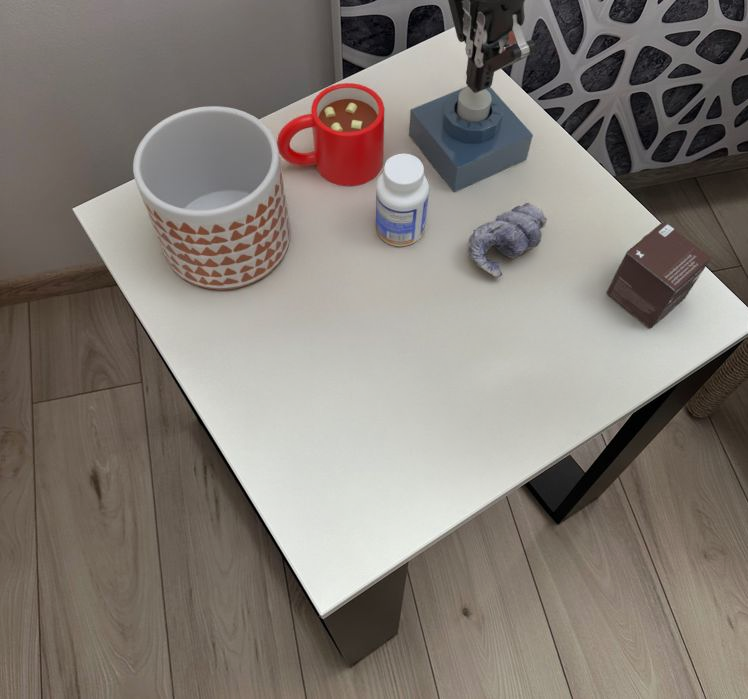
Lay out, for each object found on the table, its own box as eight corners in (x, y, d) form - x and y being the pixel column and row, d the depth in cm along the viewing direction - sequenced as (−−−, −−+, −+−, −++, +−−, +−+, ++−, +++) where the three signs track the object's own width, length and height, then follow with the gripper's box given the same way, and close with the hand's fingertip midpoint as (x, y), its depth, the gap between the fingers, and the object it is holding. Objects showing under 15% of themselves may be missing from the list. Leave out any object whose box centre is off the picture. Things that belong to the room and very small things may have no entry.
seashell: (477, 285, 82) (534, 232, 86) (508, 280, 78) (567, 225, 81) (451, 243, 81) (510, 192, 85) (481, 236, 76) (542, 182, 80)
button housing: (479, 105, 93) (486, 65, 88) (526, 159, 89) (536, 121, 84) (408, 134, 91) (411, 95, 86) (453, 192, 87) (459, 155, 82)
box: (649, 331, 78) (674, 291, 72) (603, 293, 80) (624, 252, 74) (686, 298, 80) (714, 257, 74) (641, 262, 82) (664, 219, 76)
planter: (295, 191, 87) (284, 106, 75) (284, 294, 80) (271, 217, 69) (174, 188, 87) (145, 102, 76) (154, 290, 80) (119, 212, 69)
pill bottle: (399, 200, 86) (403, 138, 78) (435, 228, 84) (442, 167, 76) (365, 227, 84) (364, 166, 76) (400, 256, 82) (404, 197, 74)
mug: (273, 149, 90) (266, 97, 83) (372, 128, 91) (373, 76, 84) (288, 199, 86) (282, 150, 79) (391, 177, 88) (393, 127, 81)
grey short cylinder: (477, 95, 86) (479, 81, 85) (495, 116, 85) (498, 101, 83) (450, 106, 86) (452, 92, 84) (468, 127, 84) (470, 113, 82)
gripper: (425, -96, 69) (415, 61, 84) (509, -12, 63) (482, 139, 79) (495, -120, 71) (473, 38, 86) (582, -41, 65) (542, 113, 80)
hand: (477, 86), depth 82 cm, fingers closed
